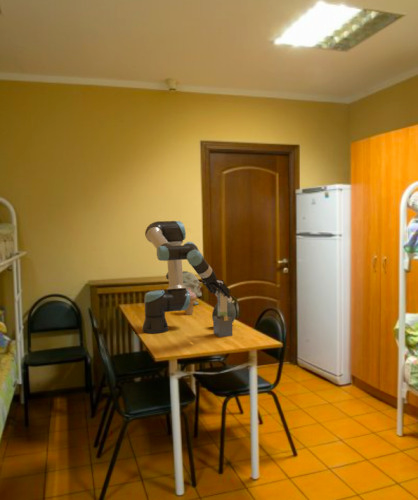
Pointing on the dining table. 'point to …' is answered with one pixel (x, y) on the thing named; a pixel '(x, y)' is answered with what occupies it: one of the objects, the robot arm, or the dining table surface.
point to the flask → (230, 310)
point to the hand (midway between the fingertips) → (226, 300)
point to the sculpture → (191, 283)
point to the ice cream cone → (191, 303)
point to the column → (221, 304)
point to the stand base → (222, 326)
